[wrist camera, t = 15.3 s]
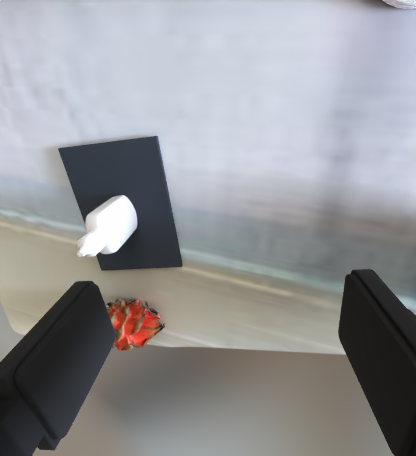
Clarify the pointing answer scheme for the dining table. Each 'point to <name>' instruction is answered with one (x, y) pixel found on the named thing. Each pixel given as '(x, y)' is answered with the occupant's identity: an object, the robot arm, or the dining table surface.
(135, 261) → the mat
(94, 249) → the eye dropper bottle
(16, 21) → the dining table surface
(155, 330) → the dragon fruit
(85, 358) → the robot arm
